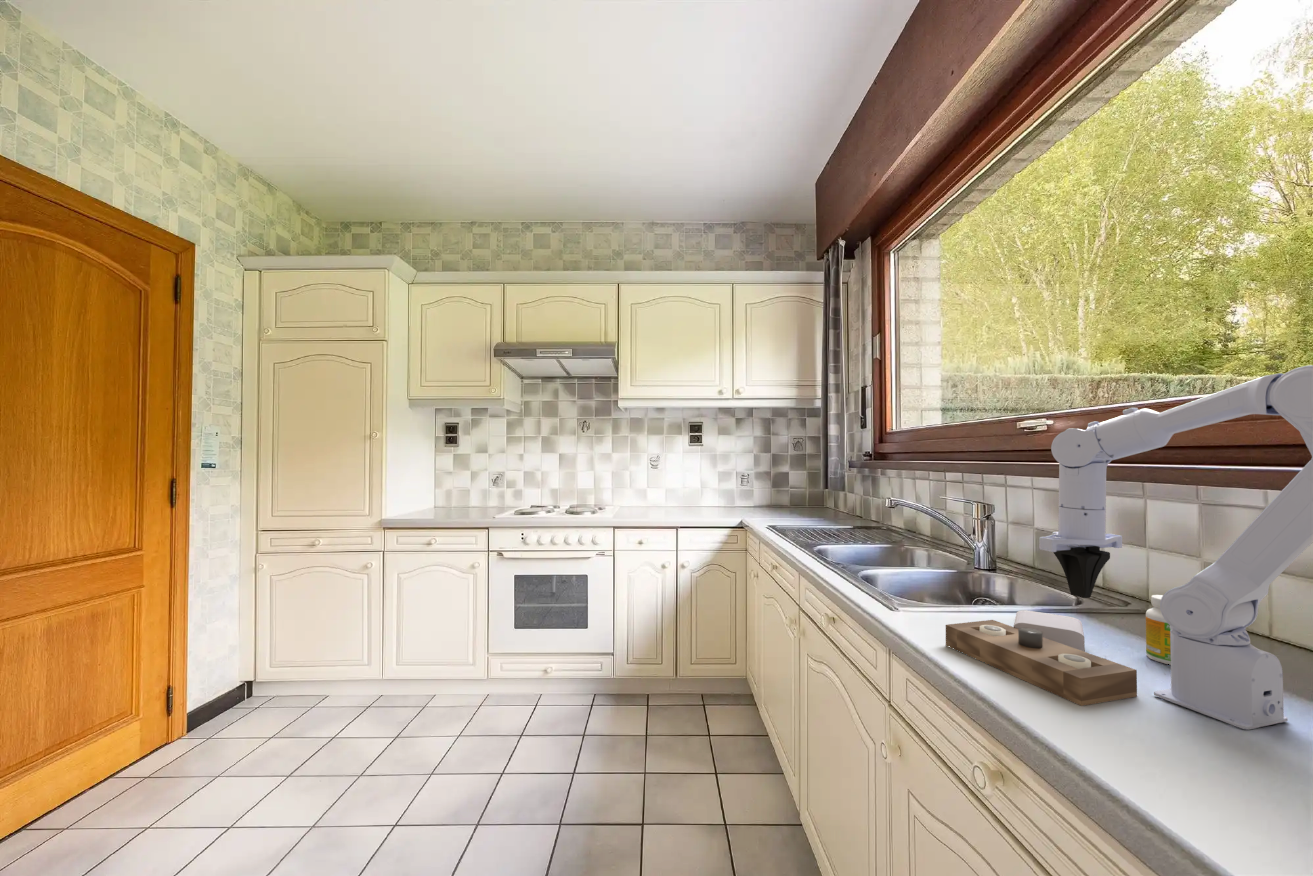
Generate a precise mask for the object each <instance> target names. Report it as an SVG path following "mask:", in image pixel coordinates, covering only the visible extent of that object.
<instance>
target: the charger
mask: <svg viewBox="0 0 1313 876" xmlns="http://www.w3.org/2000/svg"><path fill="white" fill-rule="evenodd" d="M1013 627H1015V628H1018V629H1020V628H1028V629H1034V630H1038V631H1040V632H1042V635H1043V637H1044V638H1046V639H1049V640H1052V641H1055V642H1058V643H1061V644H1064V645H1066V646H1069V647H1072V648H1075V649H1078V650H1081V651H1084V652H1086V651H1085V649H1086V648H1085V641H1086V640H1085V634H1084V627H1083V623H1082V621H1081V620H1080V619H1078V618H1076V617H1073V616H1067V615H1060V614H1055V613H1048V612H1042V611H1041V612H1040V611H1034V610H1026V609H1024V610H1018V611H1016V613H1015V618H1014V622H1013Z"/></svg>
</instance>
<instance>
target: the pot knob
mask: <svg viewBox="0 0 1313 876" xmlns="http://www.w3.org/2000/svg"><path fill="white" fill-rule="evenodd" d="M1018 643H1019V644H1020V645H1022V646H1025V647H1029V648H1042V647H1043V635H1042V632H1040V631H1038V630H1034V629H1028V628H1020V629H1018Z"/></svg>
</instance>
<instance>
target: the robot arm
mask: <svg viewBox="0 0 1313 876" xmlns="http://www.w3.org/2000/svg"><path fill="white" fill-rule="evenodd" d="M1122 414H1123V415H1119V416H1117V417H1114V418H1110V419H1108V420H1105V421H1101V422H1100V421H1096V420H1095V421H1091V422H1088V423H1087V428H1086V429H1081V428H1073V427H1072V428H1067V429H1065V430H1064V431H1061V432H1060V433H1059V434H1057V435H1056V436H1055V437H1054V438H1053V440H1052V443H1051V445H1050V446H1051V447H1050V448H1051V450H1050V451H1051V455H1052V456H1053V458H1054V459H1055V461H1056V462H1057V463H1059V464H1058V466H1059V469H1058V471H1059V472H1058V473H1059V474H1058V522H1057V524H1058V526H1057V527H1058V531H1053V532H1052V533H1051V534H1050V535H1046V536H1039V539H1038V540H1039V541H1038V542H1039V543H1038V545H1039V547H1038V548H1039V550H1041V551H1046V552H1049V553H1053V554H1054V556H1055V558H1056V559H1057V560H1058V562H1059V564H1060V566H1061V568H1062V570H1063V572H1064V575H1065V579H1066V582H1067V585H1068V589H1069V593H1070V595H1071V596H1074V597H1079V598H1082V599H1090V598H1091V596H1092V593H1093V591H1094V589H1095V585H1096V582H1097V579H1098V577H1099V575H1100V573H1101V571H1102V569H1103V568H1104V566H1105V565H1106V564H1107V562H1108V561H1109V560H1110V559H1111V552H1109V551H1106V550H1100V549H1104V548H1105V549H1106V548H1109V549H1110V548H1114V549H1122V548H1123V535H1119V534H1114V533H1106V531H1107V530H1106V529H1107V528H1106V525H1107V524H1106V523H1107V519H1106V518H1107V517H1106V516H1107V515H1106V514H1107V467H1108V465H1109V464H1110V463H1111V462H1112V461H1114V460H1119V459H1122V458H1126V457H1129V456H1134V455H1137V454H1140V453H1141V454H1142V453H1144V452H1148V451H1151V450H1156V449H1159V448H1160V449H1161V448H1163V447H1166V446H1167V444H1168V443H1169V441H1170V440H1171V438H1172V437H1173V436H1174V434H1179V433H1182V432H1186V431H1191V430H1194V429H1198V428H1202V427H1206V426H1209V425H1214V424H1217V423H1221V422H1225V421H1230V420H1233V419H1236V418H1237V419H1238V418H1242V417H1245V416H1248V415H1249V416H1250V415H1266V416H1281V417H1282V418H1283V419H1284V420H1286V422H1288V423H1289V424H1291V425H1292V426H1293V427H1294V428H1295V429H1296V430H1297V431H1299V434H1300V435H1301V438H1302V439H1303V441H1304V443H1305V446H1306V447H1307V450H1308V451H1309V453H1310V455H1311V458H1310V460H1309V461H1307V463H1306V464H1305V465H1304V466H1303V468H1302V469H1301V470H1299V472H1298V473H1297V474H1296V475H1295V476H1294V477H1293V478H1292V479H1291V481H1289V483H1288V484H1286V485H1285V487H1284V488H1283V489H1282V490H1281V491H1280V492H1279V493H1278V494H1277V495H1276V496H1275V497H1274V499H1272V500H1271V502H1270V503H1269V504H1268V505H1267V506H1266V507H1265V508H1264V509H1263V510H1262V511H1261V512H1260V514H1259V515H1258V516H1257V517H1256V518H1255V519H1254V520H1252V522H1251V523H1250V524H1249V525H1248V526H1247V527H1246V528H1245V529H1244V530H1243V531H1242V532H1241V534H1240V535H1239V536H1238V537H1237V538H1236V539H1235V540H1234V541H1233V542H1232V543H1231V544H1230V545H1229V546H1228V548H1227V549H1226V550H1225V551H1224V552H1222V554H1221V555H1220V556H1219V557H1218V558H1217V559H1216V560H1215V561H1214V562H1213V563H1212V564H1210V565H1209V566H1206V567H1205V568H1204V569H1203V570H1201V571H1200V572H1198V573H1196V574H1195V575H1194V576H1193V577H1191V578H1190V580H1189V581H1187V583H1185V584H1182V585H1180V586H1175V587H1173V588H1170V589H1168V590H1167V591H1166V592H1165V593H1164V594H1162V595H1163V596H1162V598H1161V601H1160V610H1161V613H1162V615H1163V617H1164V619H1165V620H1166V622H1167V623H1168V624H1169V625H1170V629H1171V630H1170V640H1171V665H1170V681H1171V682H1170V686H1171V687H1170V688H1167V689H1161V690H1155V691H1153V695H1154V696H1155V697H1157V698H1160V699H1162V700H1165V701H1168V702H1170V703H1173V704H1176V705H1179V706H1181V707H1184V708H1187V709H1188V710H1192V711H1195V712H1197V713H1200V714H1202V715H1205V716H1207V717H1210V718H1213V719H1215V720H1219V721H1221V722H1224V723H1226V724H1229V725H1232V726H1235V727H1237V728H1240V729H1243V730H1252V729H1257V728H1262V727H1266V726H1271V725H1275V724H1281V723H1285V722H1288V721H1289V719H1288V717H1287V716H1286V715H1284V714H1285V713H1284V712H1285V711H1284V675H1283V674H1284V671H1283V667H1282V664H1281V661H1280V659H1279V658H1278V657H1277V656H1276V655H1275V654H1273V653H1271V652H1269V651H1265V650H1263V649H1259V648H1257V647H1256V646H1254V645H1253V644H1251V638H1250V636H1249V633H1248V631H1247V627H1250V626H1251V625H1252V624H1254V623H1255V621H1256V620H1257V618H1258V615H1259V606H1260V604H1261V602H1262V600H1263V599H1264V598H1265V597H1266V596H1267V595H1268V594H1269V590H1270V589H1269V588H1270V585H1271V584H1272V583H1273V582H1274V581H1275V580H1276V579H1277V578H1278V577H1279V576H1281V574H1282V573H1283V572H1284V571H1285V570H1286V569H1287V568H1288V567H1290V565H1292V564H1293V563H1294V561H1295V560H1296V559H1297V558H1299V557H1300V555H1302V553H1303V552H1304V551H1306V550H1307V549H1308V547H1310V546H1311V544H1313V365H1312V364H1309V365H1304V366H1300V367H1295V368H1294V369H1291V370H1289V371H1287V372H1284V373H1282V372H1280V373H1278V372H1277V373H1274V374H1273V373H1272V374H1267V375H1264V376H1261V377H1258V378H1255V379H1252V380H1249V381H1246V382H1243V383H1240V384H1237V385H1235V386H1232V387H1228V388H1226V389H1223V390H1220V391H1217V392H1214V393H1212V394H1209V395H1206V396H1203V397H1201V398H1197V399H1195V400H1192V401H1190V402H1186V403H1184V404H1181V405H1178V406H1175V407H1173V408H1169V409H1167V410H1164V411H1161V412H1159V411H1156V410H1153V409H1152V408H1151V409H1150V408H1141V409H1138V407H1130V408H1127V409H1123V410H1122Z"/></svg>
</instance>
